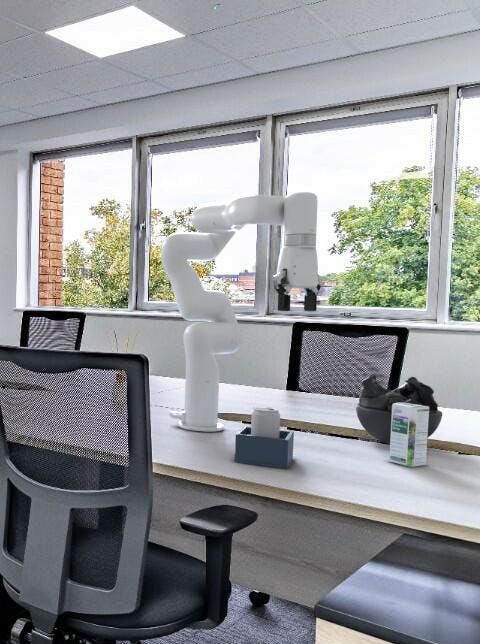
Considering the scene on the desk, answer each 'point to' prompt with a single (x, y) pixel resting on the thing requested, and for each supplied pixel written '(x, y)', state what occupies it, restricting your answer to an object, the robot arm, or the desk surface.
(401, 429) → the syrup box
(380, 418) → the bowl of black rocks
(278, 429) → the beverage can
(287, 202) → the robot arm
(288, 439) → the desk bin
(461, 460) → the desk surface
